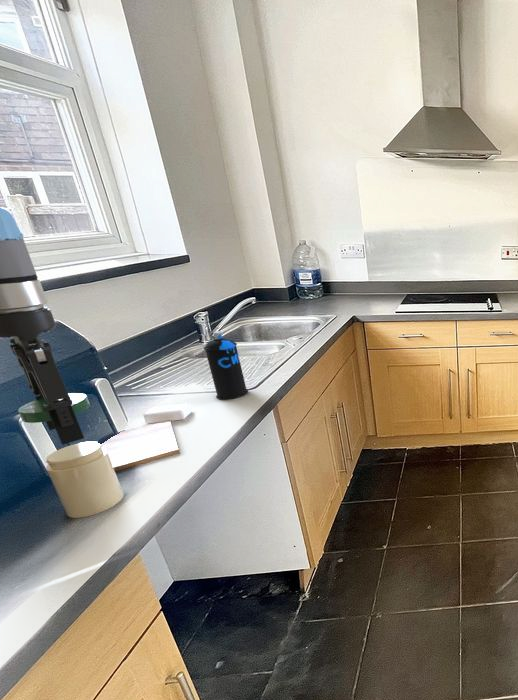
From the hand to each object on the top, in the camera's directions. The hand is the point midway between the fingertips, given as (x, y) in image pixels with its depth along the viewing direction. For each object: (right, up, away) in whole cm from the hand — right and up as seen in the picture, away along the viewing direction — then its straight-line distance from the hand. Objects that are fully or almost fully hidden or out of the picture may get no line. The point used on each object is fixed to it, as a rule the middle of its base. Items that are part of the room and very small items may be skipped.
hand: (66, 433), depth 74 cm
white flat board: (-10, -7, +25) cm, 28 cm away
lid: (0, +5, -2) cm, 6 cm away
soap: (-14, -2, +39) cm, 42 cm away
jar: (0, -14, +5) cm, 15 cm away
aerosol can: (-7, +3, +54) cm, 55 cm away
